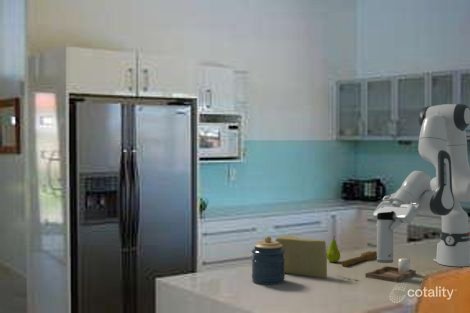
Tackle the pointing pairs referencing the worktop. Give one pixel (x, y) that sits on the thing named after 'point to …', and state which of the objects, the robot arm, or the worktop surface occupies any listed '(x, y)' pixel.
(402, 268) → the white egg
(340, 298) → the worktop surface
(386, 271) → the tray
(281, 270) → the canister
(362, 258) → the tap handle
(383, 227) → the travel mug
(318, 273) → the cheese
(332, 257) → the fruit
